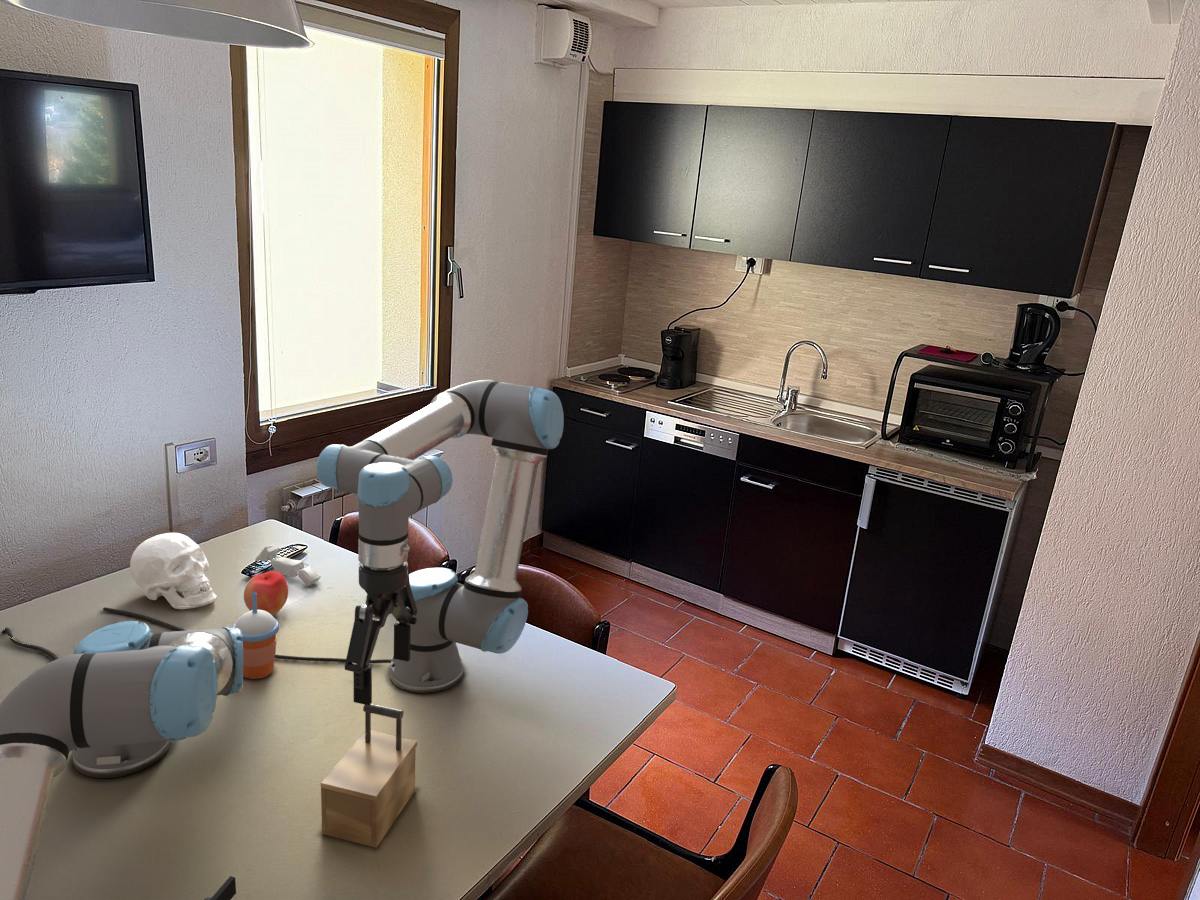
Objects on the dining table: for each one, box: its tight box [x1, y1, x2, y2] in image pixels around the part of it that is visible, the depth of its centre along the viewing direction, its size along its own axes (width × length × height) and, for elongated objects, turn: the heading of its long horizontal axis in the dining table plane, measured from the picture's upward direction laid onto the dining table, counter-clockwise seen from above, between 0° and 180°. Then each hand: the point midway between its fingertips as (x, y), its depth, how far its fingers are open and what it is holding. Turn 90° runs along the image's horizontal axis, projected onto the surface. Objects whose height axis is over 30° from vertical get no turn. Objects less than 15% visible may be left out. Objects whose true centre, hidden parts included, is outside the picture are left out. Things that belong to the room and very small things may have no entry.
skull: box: [129, 532, 217, 610], centre depth 203 cm, size 13×22×16 cm, turn 73°
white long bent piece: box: [254, 544, 322, 587], centre depth 219 cm, size 20×4×7 cm, turn 62°
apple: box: [243, 570, 289, 617], centre depth 199 cm, size 10×10×10 cm
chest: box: [320, 747, 417, 849], centre depth 141 cm, size 14×10×9 cm
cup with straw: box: [231, 592, 280, 680], centre depth 176 cm, size 9×9×18 cm
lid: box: [320, 703, 418, 801], centre depth 139 cm, size 15×10×8 cm, turn 167°
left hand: (277, 896), depth 116 cm, fingers open, 13 cm apart
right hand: (383, 680), depth 140 cm, fingers open, 13 cm apart
